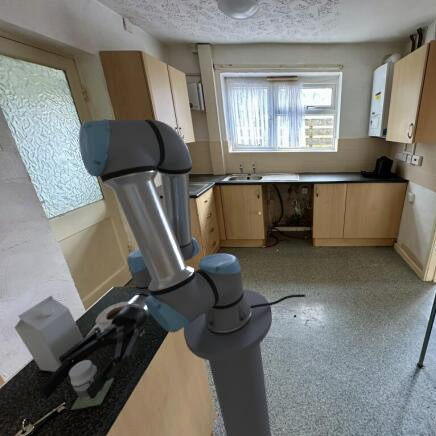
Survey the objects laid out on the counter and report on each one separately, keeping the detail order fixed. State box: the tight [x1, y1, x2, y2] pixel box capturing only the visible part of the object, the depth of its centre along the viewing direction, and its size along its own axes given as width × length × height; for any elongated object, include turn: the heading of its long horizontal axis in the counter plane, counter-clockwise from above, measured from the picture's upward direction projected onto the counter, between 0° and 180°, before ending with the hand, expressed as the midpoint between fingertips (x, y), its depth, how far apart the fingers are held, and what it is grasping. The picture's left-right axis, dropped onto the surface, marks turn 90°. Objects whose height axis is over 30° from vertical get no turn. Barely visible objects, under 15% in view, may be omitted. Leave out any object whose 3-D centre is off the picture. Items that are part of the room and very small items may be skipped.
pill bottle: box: [68, 359, 105, 402], centre depth 55 cm, size 5×5×8 cm
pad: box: [70, 377, 115, 411], centre depth 56 cm, size 6×6×1 cm
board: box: [87, 300, 130, 342], centre depth 78 cm, size 14×16×2 cm
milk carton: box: [14, 295, 84, 373], centre depth 62 cm, size 7×7×19 cm
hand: (66, 394), depth 50 cm, fingers open, 9 cm apart
